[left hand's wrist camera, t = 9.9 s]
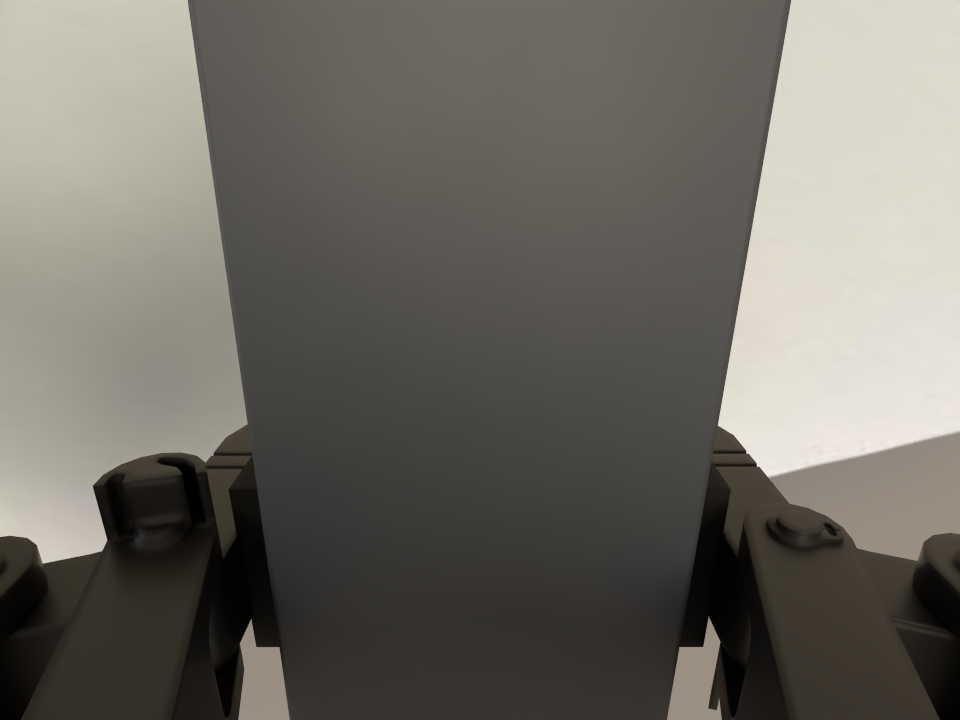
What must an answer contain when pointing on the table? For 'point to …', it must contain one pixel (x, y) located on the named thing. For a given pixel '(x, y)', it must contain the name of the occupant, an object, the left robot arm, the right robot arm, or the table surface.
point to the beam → (484, 332)
